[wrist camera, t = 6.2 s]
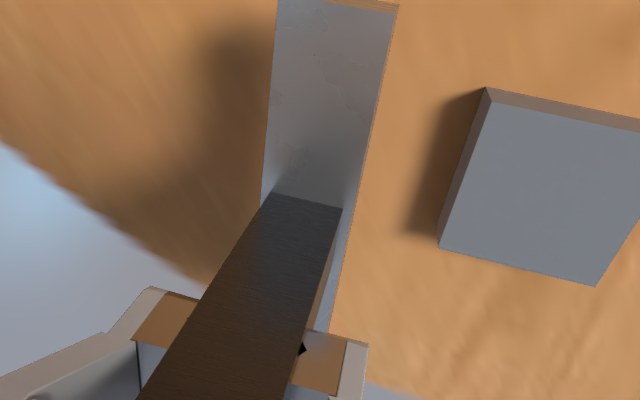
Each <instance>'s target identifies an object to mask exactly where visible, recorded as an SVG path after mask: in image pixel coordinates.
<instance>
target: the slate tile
mask: <svg viewBox="0 0 640 400" xmlns="http://www.w3.org/2000/svg"><path fill="white" fill-rule="evenodd" d="M639 218H640V119H638V118H633V117H628V116H623V115H619V114H614V113H609V112H604V111H600V110H595V109H590V108H585V107H581V106H576V105H571V104H566V103H562V102H557V101H552V100H547V99H543V98H538V97H533V96H528V95H524V94H519V93H514V92H509V91H505V90H500V89H495V88H490V87H485V90H484V93H483V95H482V98H481V101H480V104H479V107H478V109H477V112H476V115H475V118H474V121H473V124H472V126H471V129H470V132H469V135H468V138H467V140H466V143H465V146H464V149H463V152H462V154H461V157H460V160H459V163H458V166H457V168H456V171H455V174H454V177H453V180H452V182H451V185H450V188H449V191H448V194H447V196H446V199H445V202H444V205H443V208H442V210H441V213H440V216H439V219H438V222H437V244H438V248H439V249H443V250H447V251H451V252H455V253H459V254H463V255H468V256H472V257H476V258H480V259H484V260H488V261H492V262H496V263H500V264H504V265H508V266H512V267H516V268H520V269H524V270H528V271H532V272H536V273H540V274H544V275H548V276H552V277H556V278H560V279H564V280H568V281H572V282H576V283H580V284H584V285H588V286H592V287H596V285H597V284H598V282H599V280H600V279H601V277H602V276H603V274H604V273H605V271H606V270H607V268H608V266H609V265H610V263H611V262H612V260H613V259H614V257H615V256H616V254H617V252H618V251H619V249H620V248H621V246H622V245H623V243H624V242H625V240H626V238H627V237H628V235H629V234H630V232H631V231H632V229H633V228H634V226H635V224H636V223H637V221H638V220H639Z"/></svg>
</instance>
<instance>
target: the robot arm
mask: <svg viewBox="0 0 640 400" xmlns="http://www.w3.org/2000/svg"><path fill="white" fill-rule="evenodd" d="M199 301H200V300H199V299H195V298H191V297H188V296H185V295H182V294H178V293H175V292H171V291H167V290H163V289H159V288H156V287H153V286H150V287H148V288H146V289H144V291H143V292H142V293H141V294H140V295H139V296H138V298H137V299H136V300H135V301H134V302H133V304H132V305H131V306H130V307H129V308H128V309H127V311H126V312H125V313H124V314H123V315H122V316H121V318H120V319H119V320H118V321H117V322H116V324H115V325H114V326H113V327H112V329H111V330H110V331H109V332H108V333H103V332H100V333H98V334H96V335H94V336H91V337H89V338H87V339H85V340H82V341H80V342H78V343H76V344H73V345H71V346H69V347H67V348H64V349H62V350H60V351H58V352H55V353H53V354H51V355H49V356H46V357H44V358H42V359H40V360H37V361H35V362H33V363H31V364H29V365H26V366H24V367H22V368H20V369H17V370H15V371H13V372H11V373H8V374H6V375H4V376H2V377H0V400H135V399H136V398H137V396H138V395H139V393H140V391H141V390H142V388H143V387H144V385H145V384H146V382H147V381H148V379H149V378H150V376H151V375H152V373H153V371H154V370H155V368H156V367H157V365H158V364H159V362H160V361H161V359H162V358H163V356H164V354H165V353H166V351H167V350H168V348H169V347H170V345H171V344H172V342H173V341H174V339H175V338H176V336H177V334H178V333H179V331H180V330H181V328H182V327H183V325H184V324H185V322H186V321H187V319H188V318H189V316H190V314H191V313H192V311H193V310H194V308H195V307H196V305H197V304H198V302H199ZM368 352H369V345H368V343H364V342H361V341H357V340H353V339H349V338H348V339H347V338H345V337H341V336H337V335H333V334H329V333H326V332H322V331H318V330H314V329H310V328H307V329H306V332H305V335H304V338H303V341H302V346H301V352H300V355H299V356H298V357H297V360H296V363H295V366H294V369H293V373H292V376H291V379H290V382H289V387H288V393H287V399H286V400H362V396H363V388H364V381H365V374H366V367H367V360H368Z"/></svg>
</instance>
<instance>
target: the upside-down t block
mask: <svg viewBox="0 0 640 400" xmlns="http://www.w3.org/2000/svg"><path fill="white" fill-rule="evenodd" d="M399 6H400V5H399V4H394V3H388V2H383V1H377V0H278V7H277V18H276V29H275V40H274V52H273V63H272V74H271V85H270V97H269V108H268V119H267V130H266V142H265V153H264V164H263V175H262V187H261V198H260V208H259V210H258V211H257V213H256V214H255V216H254V217H253V219H252V220H251V222H250V224H249V225H248V227H247V228H246V230H245V231H244V233H243V234H242V236H241V237H240V239H239V240H238V242H237V244H236V245H235V247H234V248H233V250H232V251H231V253H230V254H229V256H228V257H227V259H226V261H225V262H224V264H223V265H222V267H221V268H220V270H219V271H218V273H217V274H216V276H215V277H214V279H213V281H212V282H211V284H210V285H209V287H208V288H207V290H206V291H205V293H204V294H203V296H202V298H201V299H200V301H199V302H198V304H197V305H196V307H195V308H194V310H193V311H192V313H191V314H190V316H189V318H188V319H187V321H186V322H185V324H184V325H183V327H182V328H181V330H180V331H179V333H178V334H177V336H176V338H175V339H174V341H173V342H172V344H171V345H170V347H169V348H168V350H167V351H166V353H165V354H164V356H163V358H162V359H161V361H160V362H159V364H158V365H157V367H156V368H155V370H154V371H153V373H152V375H151V376H150V378H149V379H148V381H147V382H146V384H145V385H144V387H143V388H142V390H141V391H140V393H139V395H138V396H137V398H136V399H135V400H286V399H287V393H288V387H289V382H290V379H291V376H292V373H293V369H294V366H295V363H296V360H297V357H298V356H299V355H300V352H301V346H302V341H303V338H304V335H305V332H306V329H307V328H310V329H314V330H318V331H322V332H326V333H328V331H329V326H330V322H331V317H332V312H333V308H334V303H335V299H336V294H337V290H338V285H339V280H340V276H341V271H342V267H343V262H344V258H345V253H346V248H347V244H348V239H349V235H350V230H351V225H352V221H353V216H354V212H355V207H356V203H357V198H358V193H359V189H360V184H361V180H362V175H363V171H364V166H365V161H366V157H367V152H368V148H369V143H370V138H371V134H372V129H373V125H374V120H375V116H376V111H377V106H378V102H379V97H380V93H381V88H382V83H383V79H384V74H385V70H386V65H387V61H388V56H389V51H390V47H391V42H392V38H393V33H394V29H395V24H396V19H397V15H398V10H399Z"/></svg>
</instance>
